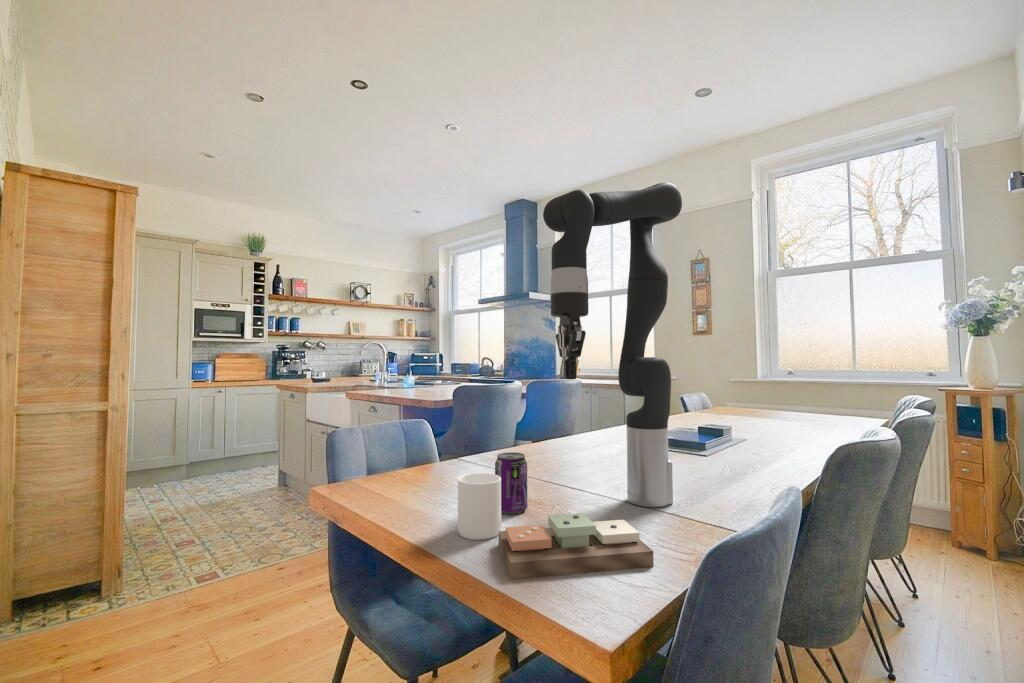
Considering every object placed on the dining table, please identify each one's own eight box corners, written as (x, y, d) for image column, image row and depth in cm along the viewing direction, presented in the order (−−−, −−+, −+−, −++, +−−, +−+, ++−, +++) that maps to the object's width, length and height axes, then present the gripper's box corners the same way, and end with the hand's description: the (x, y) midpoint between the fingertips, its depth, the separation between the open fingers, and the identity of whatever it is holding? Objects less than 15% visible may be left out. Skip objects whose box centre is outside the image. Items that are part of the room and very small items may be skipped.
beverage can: (524, 516, 98) (524, 459, 99) (491, 514, 100) (491, 457, 100) (530, 506, 105) (529, 452, 106) (499, 504, 107) (499, 451, 107)
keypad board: (620, 536, 87) (620, 522, 87) (653, 566, 74) (653, 551, 74) (498, 545, 83) (498, 531, 83) (510, 578, 70) (510, 562, 71)
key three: (542, 547, 81) (542, 523, 81) (551, 563, 75) (551, 537, 75) (505, 550, 80) (505, 526, 80) (512, 567, 74) (512, 540, 74)
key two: (583, 535, 83) (583, 511, 83) (596, 549, 76) (596, 524, 76) (548, 537, 81) (548, 514, 82) (558, 552, 75) (558, 527, 75)
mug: (459, 519, 97) (459, 469, 97) (499, 518, 97) (499, 468, 98) (456, 541, 85) (456, 484, 85) (502, 540, 85) (502, 483, 86)
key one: (623, 541, 84) (623, 518, 84) (639, 556, 78) (639, 531, 78) (589, 544, 83) (589, 520, 83) (602, 559, 76) (602, 534, 77)
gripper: (598, 288, 88) (599, 380, 87) (577, 297, 101) (577, 377, 101) (560, 287, 87) (561, 381, 86) (543, 296, 100) (543, 378, 99)
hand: (570, 379), depth 93 cm, fingers closed
